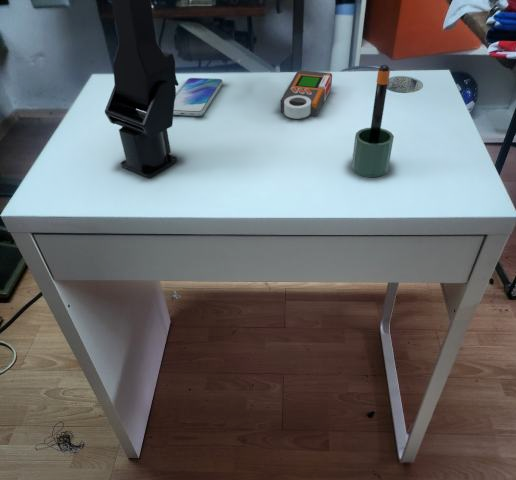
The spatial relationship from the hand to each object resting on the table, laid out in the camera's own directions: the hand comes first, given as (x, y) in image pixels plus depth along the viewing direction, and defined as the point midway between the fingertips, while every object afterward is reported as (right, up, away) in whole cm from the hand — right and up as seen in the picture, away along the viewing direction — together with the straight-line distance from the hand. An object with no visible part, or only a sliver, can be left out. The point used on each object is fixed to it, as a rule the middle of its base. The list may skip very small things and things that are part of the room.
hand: (257, 8), depth 83 cm
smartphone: (-12, -9, +12) cm, 19 cm away
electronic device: (+9, -11, +10) cm, 17 cm away
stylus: (+17, -28, -7) cm, 33 cm away
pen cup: (+17, -28, -6) cm, 34 cm away
